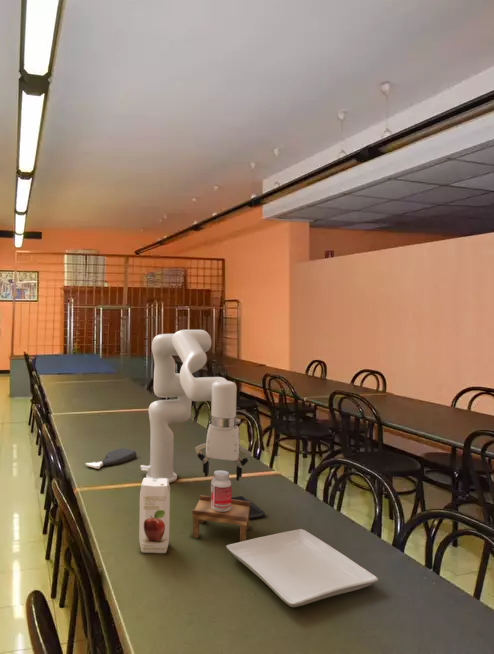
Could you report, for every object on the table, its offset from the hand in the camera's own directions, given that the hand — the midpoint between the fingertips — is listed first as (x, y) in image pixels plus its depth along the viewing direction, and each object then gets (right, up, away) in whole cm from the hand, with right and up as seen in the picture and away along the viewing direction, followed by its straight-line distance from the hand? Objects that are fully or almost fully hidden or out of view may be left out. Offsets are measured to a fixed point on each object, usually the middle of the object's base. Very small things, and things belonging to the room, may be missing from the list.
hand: (222, 477), depth 138 cm
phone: (+10, -17, +17) cm, 26 cm away
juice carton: (-21, -17, -10) cm, 28 cm away
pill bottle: (0, -10, +1) cm, 10 cm away
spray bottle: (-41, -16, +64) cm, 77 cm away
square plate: (+16, -18, -22) cm, 32 cm away
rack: (0, -17, 0) cm, 17 cm away
